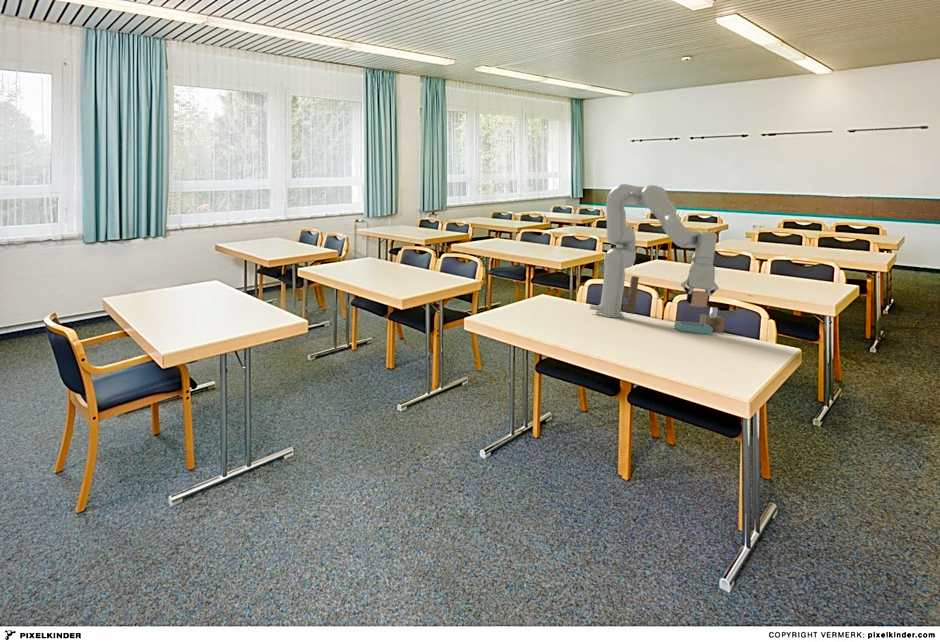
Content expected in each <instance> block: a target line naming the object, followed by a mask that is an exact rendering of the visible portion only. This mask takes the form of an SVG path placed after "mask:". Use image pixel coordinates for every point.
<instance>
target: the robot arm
mask: <svg viewBox="0 0 940 642" xmlns="http://www.w3.org/2000/svg"><path fill="white" fill-rule="evenodd" d="M606 197H607V198H606V205H605V206H606V207H605V208H606V239H607V241H608V242H609V244H611V245H615V247H612V248H610V249H608V251H607V252H606V253H605V255H604V259H603V260H604V261H603V264H604V273H603V279H602V280H603V282H602V289H601V298H600V303H599V304H598V305H591V304H590V305H589V310H592V311H594V310H595V311H596V312H595V315H597V316H600V317H607V318H615V319H616V318H617V319H618V318H624V316H625V315H624V314H623V313H621V312H622V311H621V305H622V297H623V290H624V289H625V280H626V272H625V271H626V270H625V269H629V268H630V267H632V266H633V265H634V264H635V261H636V255H637V253H636V252H637V251H636V247H637V245H636V233H635V231H634V230H635V229H633V228H632V227H631V226H630V225H628V224H627V222H626V221H627V220H626V219H627V214H626V210H625V205H631V206H642V207H643V206H646V207H647V208H648V209H649V210H650V212H651V213H652V214H653V215H654V217H655V218H656V219H657V221H659V224H660V225H661V228H662V230H663V231H664V232H665V234H666V235H667V236H668V237H669V239H670V240H671V241H672V243H674V244H675V245H676V246H677V247H680V248H684V249H685V248H687V249H692V248H693V249H695V252H694V256H693V257H690V262H692V263H691V266H690V268H689V271H688V276H687V279H685V280H684V281H683V282H681V284H680V287H681V288H683V290H684V292H686V293H687V294H686V302H687V304H688V303H689V304H691V300H692V294H691V293H692V291H694V290H695V289H701V290H704V292H707V293H708V299H707V304H709V302H710V298H711V297H710V296H712V295H713V294H714V293H715V292H716V291H718V290H720V287H719V286H718V284H717V283H716V282H715V279H716V278H715V277H716V268H715V267H716V266H715V265H713V263H714V257H715V252H716V246H717V239H718V235H717V233H716V232H713V231H712V232H711V231H697V230H692V229H687V228H686V227H685V225H684V224H683V223H682V222H681V221H680V219H679V218H678V216H677V208H676V206H675V205H674V204H673V202H671V201H670V199H668V193H667V190H666V189H665V188H663V187H661V186H658V185H653V184H650V185H647V186H637V185H632V184H628V183H626V184H625V183H623V184H621V183H620V184H619V185H616V186H614V187H613V188H612V189H611V190H610V192H608V194H607V196H606ZM689 304H688V305H689Z"/></svg>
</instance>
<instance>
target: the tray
mask: <svg viewBox="0 0 940 642" xmlns="http://www.w3.org/2000/svg"><path fill="white" fill-rule="evenodd" d="M674 327H675V328H674ZM673 328H674V329H675V330H677V331H678V332H679V333H686V334H687V333H688V334H699V335H707V334H712V335H713V332H712V331H713V328H712V327H710V326H709V325H707V324H702V323H699V322H691V321H680V320H679V321H678V320H675V321H674V326H673Z"/></svg>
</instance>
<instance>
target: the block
mask: <svg viewBox="0 0 940 642" xmlns="http://www.w3.org/2000/svg"><path fill="white" fill-rule="evenodd" d="M691 294H692V300H691V304H689V303H687V305H688V306H691V307H699V308H707V306H708V303H707V299H708V293H707V292H705V290H704V291H703V290H693V291H692V293H691Z"/></svg>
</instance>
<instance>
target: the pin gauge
mask: <svg viewBox="0 0 940 642" xmlns="http://www.w3.org/2000/svg"><path fill="white" fill-rule="evenodd" d="M709 309H710V310H709V314H708V315H709V317H712V318H717V316H718V309H719V308H718V307H713V306H711V307H709Z"/></svg>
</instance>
